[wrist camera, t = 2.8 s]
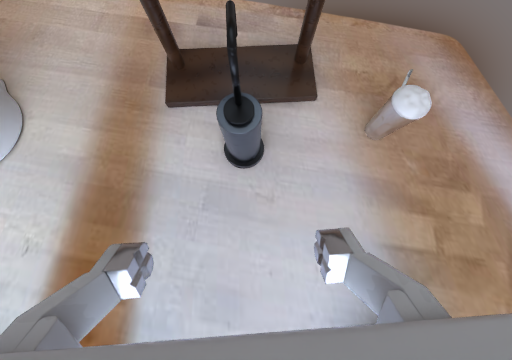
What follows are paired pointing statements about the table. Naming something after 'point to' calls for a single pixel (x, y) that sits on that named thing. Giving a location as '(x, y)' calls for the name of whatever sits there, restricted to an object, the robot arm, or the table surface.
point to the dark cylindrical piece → (239, 109)
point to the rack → (249, 63)
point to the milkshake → (399, 110)
